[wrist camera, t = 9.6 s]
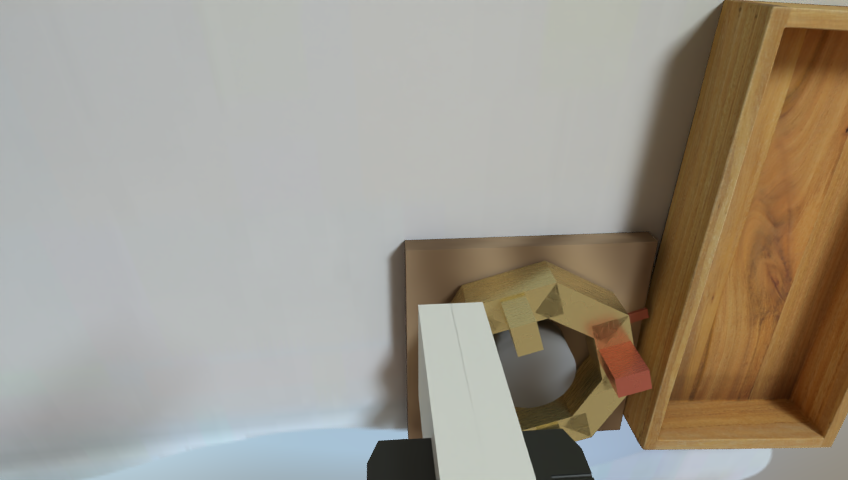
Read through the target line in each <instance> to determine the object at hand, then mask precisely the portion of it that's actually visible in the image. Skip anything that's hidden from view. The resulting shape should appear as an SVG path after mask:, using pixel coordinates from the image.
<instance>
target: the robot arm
mask: <svg viewBox="0 0 848 480" xmlns="http://www.w3.org/2000/svg"><path fill="white" fill-rule="evenodd" d="M418 391H419V406H420V416H421V426H422V435H423V438H418V439H401V440H384V441H378V443H377V445H376V447H375V449H374V451H373V453H372V455H371V457H370V459H369V461H368V463H367V480H594V478H592V475H591V470H590V468H589V466H588V463H587V461H586V458H585V456H584V453H583V451H582V449H581V448H580V446H579V445H578V444H577V443H576V442H575V441H574V440H573V439H572V438H571V437H570V436H569V435H568V434H567V433H566V432H565V431H564V430H563V429H546V430H529V431H521V427H520V424H519V421H518V417H517V414H516V411H515V407H514V404H513V401H512V398H511V394H510V391H509V388H508V384H507V381H506V378H505V374H504V371H503V368H502V364H501V361H500V358H499V355H498V351H497V348H496V345H495V341H494V338H493V335H492V331H491V328H490V325H489V321H488V318H487V315H486V312H485V308H484V305H483V302H473V303H449V304H426V305H418Z"/></svg>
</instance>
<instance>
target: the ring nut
mask: <svg viewBox="0 0 848 480" xmlns="http://www.w3.org/2000/svg"><path fill="white" fill-rule="evenodd" d="M473 302H483V305H484V308H485V312H486V315H487V318H488V321H489V325H490V328H491V331H492V334H495V333H499V332H502V331H506V330H509V332H510V335H511V338H512V341H513V344H514V347H515V350H516V353H517V356H518V357H520V356H524V355H527V354H531V353H534V352H538V351H541V350H544V349H543V345H542V341H541V337H540V333H539V329H538V325H537V321H541V320H544V319H547V318H549V319H551V320H553V321H556V322H558V323H560V324H562V325H565V326H567V327H569V328H572V329H574V330H576V331H579V332H581V333H583V334H585V336H586V341H587V346H588V351H589V355H588V357H587V358H586V359H585V360H584V362H583V363H582V364H581V365H580V367H579V368H578V369H577V370H576V374H575V378H574V380H573V382H572V384H571V386H570V387H569V389H568V390H567V391H566V392H565V393H564V394H563V395H562V396H560V397H559V398H558V399H556V400H554V401H552V402H551V403H548V404H546V405H543V406H539V407H533V408H520V407H515V406H514V407H515V411H516V414H517V417H518V421H519V424H520V427H521V431H529V430H546V429H563V430H564V431H565V432H566V433H567V434H568V435H569V436H570V437H571V438H572V439H573V440H574V441H579V440H583V439H586V438H589V437H592V436H593V435H594V433H595V432H596V431H597V430H598V429H599V428H600V426H601V425H602V424H603V423H604V422H605V421H606V419H607V418H608V417H609V416H610V415H611V414H612V412H613V411H614V410H615V409H616V408H617V407H618V405H619V404H620V403H621V402H622V401H623V400H624V398H625V397H626V396H627V395H631V394H634V393H638V392H642V391H645V390H649V389H652V384H651V377H650V370H649V368H648V367H647V365H646V364H645V362H644V361H643V359H642V358H641V356H640V354H639V353H638V351H637V350H636V348H635V347H634V343H633V337H632V331H631V325H630V318H629V315H628V313H627V312H626V310H625V309H624V307H623V306H622V304H621V303H620V301H619V300H618V298H617V297H616V296H615V294H614V293H613V292H611V291H609V290H607V289H605V288H603V287H600V286H598V285H596V284H594V283H592V282H590V281H588V280H585V279H583V278H581V277H579V276H577V275H575V274H573V273H570V272H568V271H566V270H564V269H562V268H560V267H558V266H555V265H553V264H551V263H549V262H547V261H542V262H539V263H536V264H532V265H529V266H525V267H522V268H519V269H515V270H512V271H508V272H505V273H502V274H498V275H495V276H491V277H488V278H485V279H481V280H478V281H474V282H471V283H468V284H464V285H462V286H461V287H460V289H459V290H458V292H457V293H456V295H455V296H454V298H453V300H452V301H451V303H473Z"/></svg>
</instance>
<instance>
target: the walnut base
mask: <svg viewBox="0 0 848 480" xmlns="http://www.w3.org/2000/svg"><path fill="white" fill-rule="evenodd" d="M657 244H658V241H657V240H656V239H655V238H654V237H653V236H652V235H651V234H650V233H649V232H632V233H603V234H574V235H546V236H517V237H488V238H459V239H430V240H405V289H406V354H407V418H408V439H418V438H423V435H422V426H421V416H420V406H419V391H418V305H426V304H449V303H451V301H452V300H453V298H454V296H455V295H456V293H457V292H458V290H459V289H460V287H461V286H462V285H464V284H468V283H471V282H474V281H478V280H481V279H485V278H488V277H491V276H495V275H498V274H502V273H505V272H508V271H512V270H515V269H519V268H522V267H525V266H529V265H532V264H536V263H539V262H542V261H547V262H549V263H551V264H553V265H555V266H558V267H560V268H562V269H564V270H566V271H568V272H570V273H573V274H575V275H577V276H579V277H581V278H583V279H585V280H588V281H590V282H592V283H594V284H596V285H598V286H600V287H603V288H605V289H607V290H609V291H611V292H613V293H614V294H615V296H616V297H617V298H618V300H619V301H620V303H621V304H622V306H623V307H624V309H625V310H626V312H627V313H628V315H629V318H630V325H631V331H632V337H633V343H634V347H635V348H636V347H637V342H638V337H639V333H640V328H641V323H642V320H643V319H646V318H649V316H648V310H647V308H645V303H646V298H647V293H648V288H649V283H650V278H651V274H652V269H653V264H654V259H655V254H656V249H657ZM537 325H538V329H539V333H540V337H541V341H542V345H543V349H544V350H541V351H538V352H534V353H531V354H527V355H524V356H520V357H518V356H517V353H516V350H515V347H514V344H513V341H512V338H511V335H510V332H509V330H506V331H502V332H499V333H495V334H492V335H493V338H494V341H495V345H496V348H497V351H498V355H499V358H500V361H501V364H502V368H503V371H504V374H505V378H506V381H507V384H508V388H509V391H510V394H511V398H512V401H513V404H514V406H515V407H520V408H533V407H539V406H543V405H546V404H548V403H551V402H552V401H554V400H556V399H558V398H559V397H560V396H562V395H563V394H564V393H565V392H566V391H567V390H568V389H569V387H570V386H571V384H572V382H573V380H574V378H575V374H576V370H577V369H578V368H579V367H580V365H581V364H582V363H583V362H584V360H585V359H586V358H587V357H588V355H589V351H588V346H587V341H586V336H585V334H583V333H581V332H579V331H576V330H574V329H572V328H569V327H567V326H565V325H562V324H560V323H558V322H556V321H553V320H551V319H549V318H547V319H544V320H541V321H537ZM626 397H627V396H626ZM626 397H625V398H624V400H623V401H622V402H621V403H620V404H619V405H618V407H617V408H616V409H615V410H614V411H613V412H612V414H611V415H610V416H609V417H608V418H607V419H606V421H605V422H604V423H603V424H602V425H601V426H600V428H599V429H598V430H597V431H604V430H620V426H621V421H622V416H623V411H624V406H625V401H626Z"/></svg>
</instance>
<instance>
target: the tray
mask: <svg viewBox="0 0 848 480" xmlns="http://www.w3.org/2000/svg"><path fill="white" fill-rule="evenodd" d="M645 308H647V310H648V316H649V318H646V319H643V320H642V323H641V328H640V333H639V337H638V342H637V347H636V350H637V351H638V353H639V354H640V356H641V358H642V359H643V361H644V362H645V364H646V365H647V367H648V368H649V370H650V377H651V384H652V389H649V390H645V391H642V392H638V393H634V394H631V395H627V397H626V401H625V406H624V411H623V415H624V417H625V419H626V420H627V422H628V424H629V426H630V428H631V430H632V432H633V433H634V435H635V437H636V439H637V441H638V442H639V444H640V446H641V447H642V448H643V449H644V450H665V449H752V448H814V447H831V446H832V444H833V442H834V440H835V438H836V436H837V434H838V432H839V430H840V428H841V426H842V424H843V422H844V420H845V417H846V415H847V413H848V6H831V5H814V4H797V3H780V2H764V1H746V0H725V1H724V3H723V6H722V10H721V14H720V18H719V21H718V25H717V29H716V33H715V37H714V40H713V44H712V48H711V52H710V55H709V59H708V63H707V67H706V71H705V75H704V79H703V83H702V87H701V91H700V95H699V99H698V103H697V107H696V110H695V114H694V118H693V122H692V126H691V129H690V133H689V137H688V141H687V145H686V148H685V152H684V156H683V160H682V164H681V168H680V172H679V176H678V179H677V183H676V187H675V191H674V195H673V199H672V202H671V206H670V210H669V214H668V218H667V222H666V225H665V229H664V233H663V237H662V241H661V245H660V249H659V253H658V257H657V261H656V265H655V268H654V272H653V276H652V280H651V284H650V288H649V292H648V296H647V300H646V304H645Z"/></svg>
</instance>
